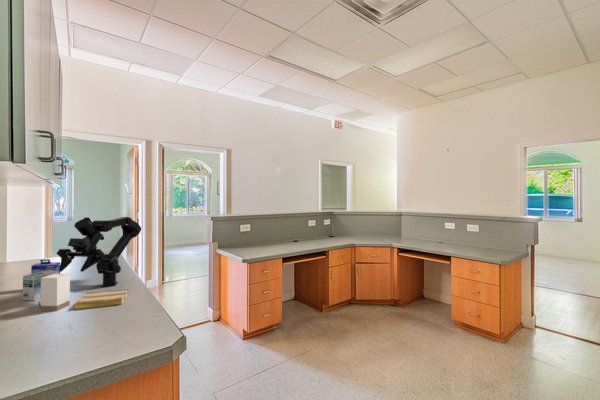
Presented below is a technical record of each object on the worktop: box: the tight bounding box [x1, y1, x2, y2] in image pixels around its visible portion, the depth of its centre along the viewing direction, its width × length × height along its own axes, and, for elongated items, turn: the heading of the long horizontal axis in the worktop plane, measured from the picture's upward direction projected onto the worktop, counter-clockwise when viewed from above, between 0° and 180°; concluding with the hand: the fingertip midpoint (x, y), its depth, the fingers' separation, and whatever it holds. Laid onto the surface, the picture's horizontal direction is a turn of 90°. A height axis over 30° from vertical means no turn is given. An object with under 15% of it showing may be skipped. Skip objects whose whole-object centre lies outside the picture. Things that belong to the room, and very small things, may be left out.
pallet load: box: [40, 273, 71, 312], centre depth 114 cm, size 6×6×13 cm
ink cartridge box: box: [30, 259, 61, 274], centre depth 140 cm, size 10×6×14 cm, turn 112°
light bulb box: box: [22, 270, 59, 302], centre depth 127 cm, size 11×7×11 cm, turn 168°
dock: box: [74, 288, 129, 310], centre depth 122 cm, size 14×16×2 cm
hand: (70, 271), depth 121 cm, fingers open, 9 cm apart
